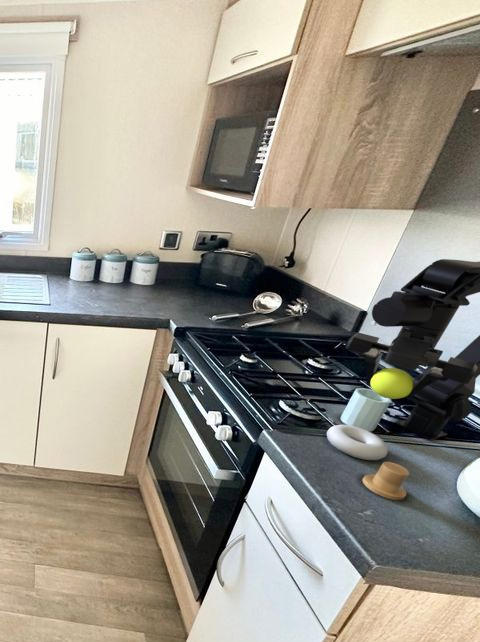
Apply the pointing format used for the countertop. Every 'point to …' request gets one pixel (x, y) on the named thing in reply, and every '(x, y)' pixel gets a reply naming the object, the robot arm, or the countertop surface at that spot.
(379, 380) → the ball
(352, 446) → the donut
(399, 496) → the wooden egg stand
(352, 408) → the cup
